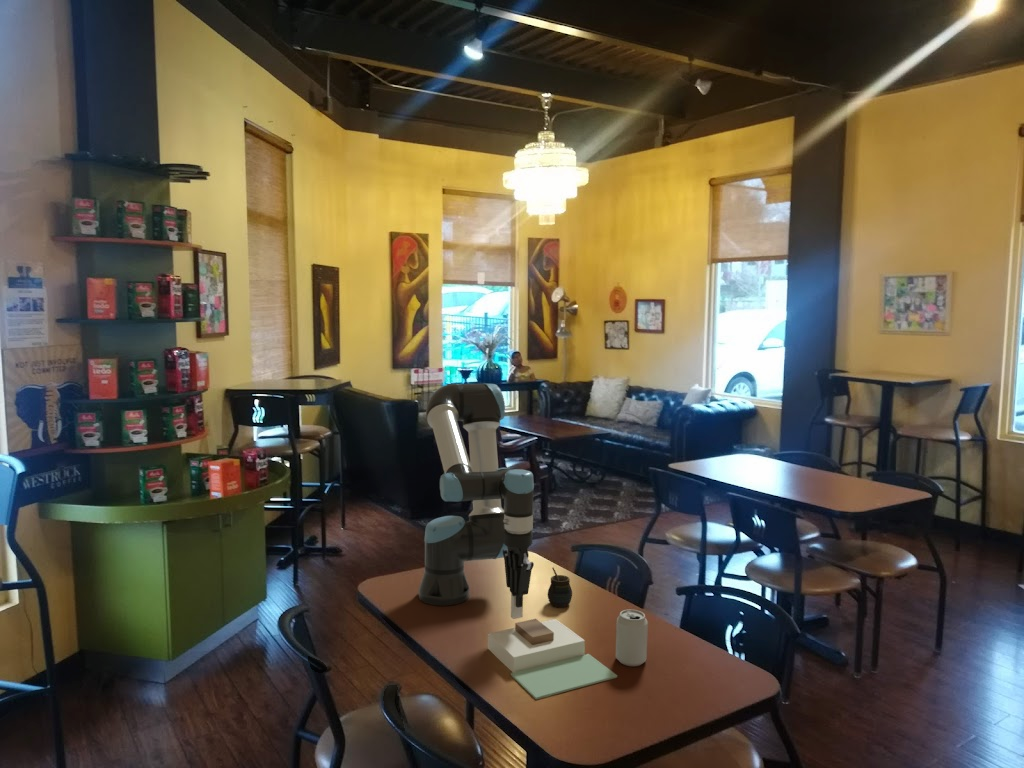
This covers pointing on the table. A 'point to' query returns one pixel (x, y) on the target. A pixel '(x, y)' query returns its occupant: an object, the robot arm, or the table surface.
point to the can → (631, 637)
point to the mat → (562, 676)
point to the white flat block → (535, 647)
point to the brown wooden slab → (534, 631)
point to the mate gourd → (559, 590)
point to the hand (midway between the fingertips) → (516, 617)
